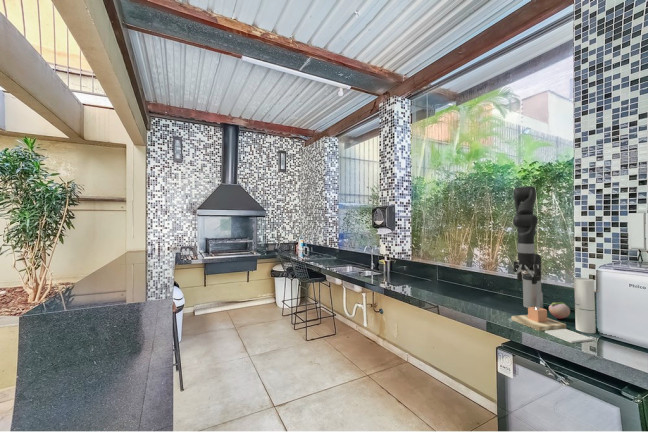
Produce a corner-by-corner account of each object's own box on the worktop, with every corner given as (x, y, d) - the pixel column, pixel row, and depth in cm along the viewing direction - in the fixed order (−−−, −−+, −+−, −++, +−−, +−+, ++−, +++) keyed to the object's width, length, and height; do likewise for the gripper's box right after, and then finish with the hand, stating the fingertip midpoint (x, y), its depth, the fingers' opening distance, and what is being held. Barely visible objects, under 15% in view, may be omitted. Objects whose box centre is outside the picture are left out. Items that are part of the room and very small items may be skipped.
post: (537, 319, 147) (537, 306, 147) (541, 320, 145) (540, 308, 145) (534, 319, 146) (533, 307, 146) (537, 320, 144) (537, 308, 144)
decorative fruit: (562, 323, 146) (561, 303, 147) (546, 317, 154) (545, 299, 155) (574, 321, 149) (574, 302, 149) (558, 316, 157) (557, 298, 157)
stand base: (536, 317, 155) (536, 314, 155) (566, 328, 139) (566, 324, 139) (511, 319, 152) (511, 316, 152) (539, 331, 136) (539, 326, 136)
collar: (537, 317, 149) (536, 306, 149) (547, 321, 143) (546, 309, 143) (528, 318, 148) (527, 307, 148) (538, 322, 142) (537, 310, 142)
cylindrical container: (585, 327, 140) (583, 277, 141) (600, 333, 133) (598, 280, 133) (571, 327, 140) (570, 277, 140) (585, 333, 133) (583, 280, 133)
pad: (565, 330, 137) (565, 328, 137) (593, 340, 125) (593, 338, 125) (545, 332, 134) (544, 330, 134) (571, 343, 123) (571, 341, 123)
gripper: (544, 253, 142) (545, 285, 142) (520, 250, 156) (521, 279, 156) (531, 253, 141) (532, 285, 141) (508, 250, 155) (509, 280, 155)
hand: (526, 282), depth 148 cm, fingers open, 8 cm apart
